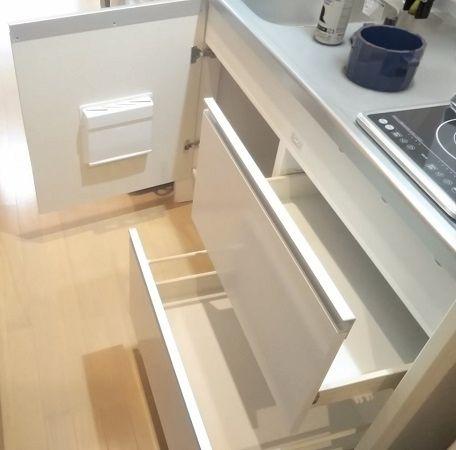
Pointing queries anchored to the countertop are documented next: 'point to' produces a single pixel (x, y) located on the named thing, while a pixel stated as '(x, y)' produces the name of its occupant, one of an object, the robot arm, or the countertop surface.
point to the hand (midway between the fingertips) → (414, 13)
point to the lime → (414, 8)
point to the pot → (384, 57)
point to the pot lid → (385, 22)
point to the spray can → (333, 21)
